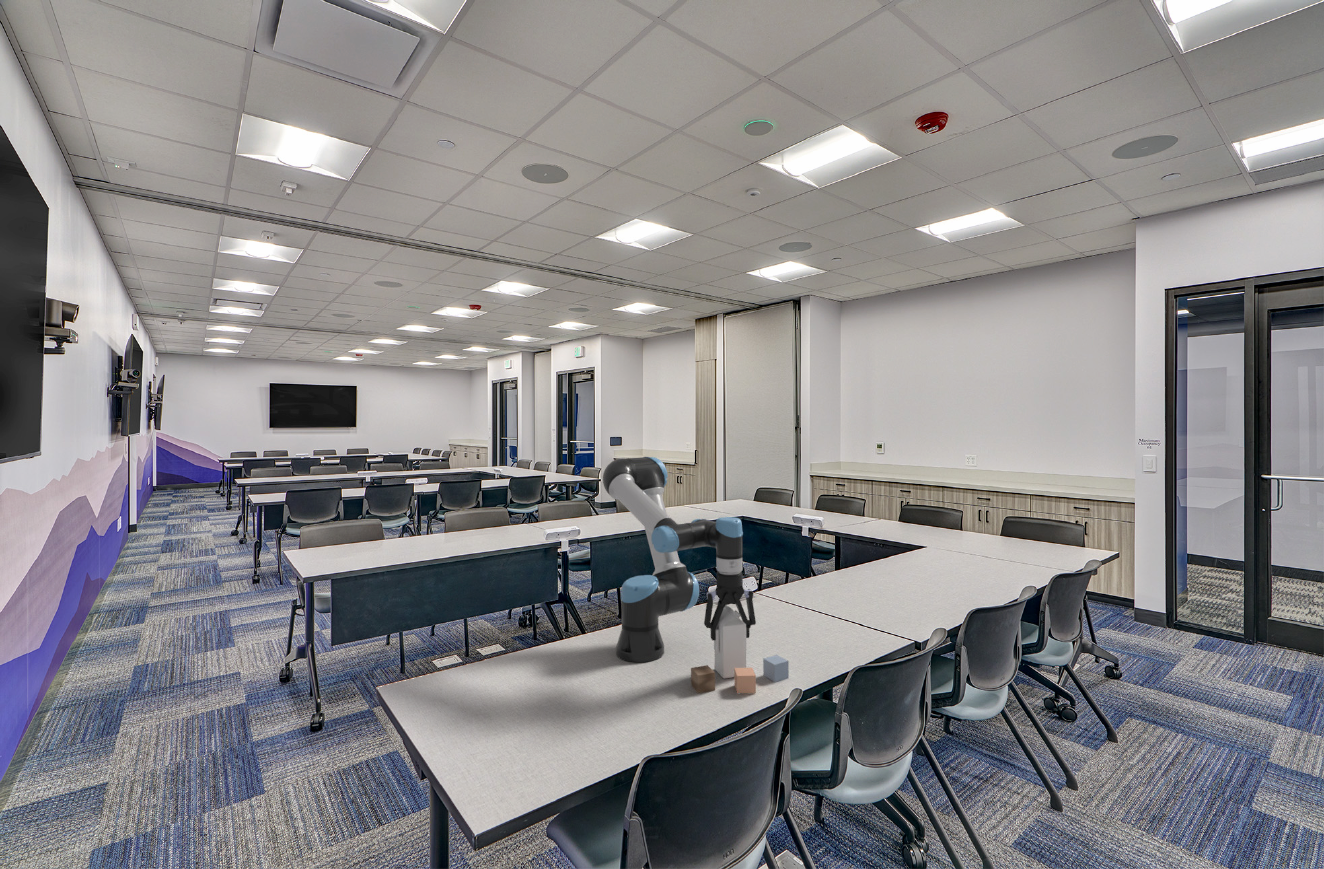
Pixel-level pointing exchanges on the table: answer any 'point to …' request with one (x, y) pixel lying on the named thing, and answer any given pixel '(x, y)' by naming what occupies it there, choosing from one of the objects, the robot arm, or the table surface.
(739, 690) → the terracotta cube
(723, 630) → the milk carton
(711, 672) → the walnut cube
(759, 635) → the table surface
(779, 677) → the slate cube
